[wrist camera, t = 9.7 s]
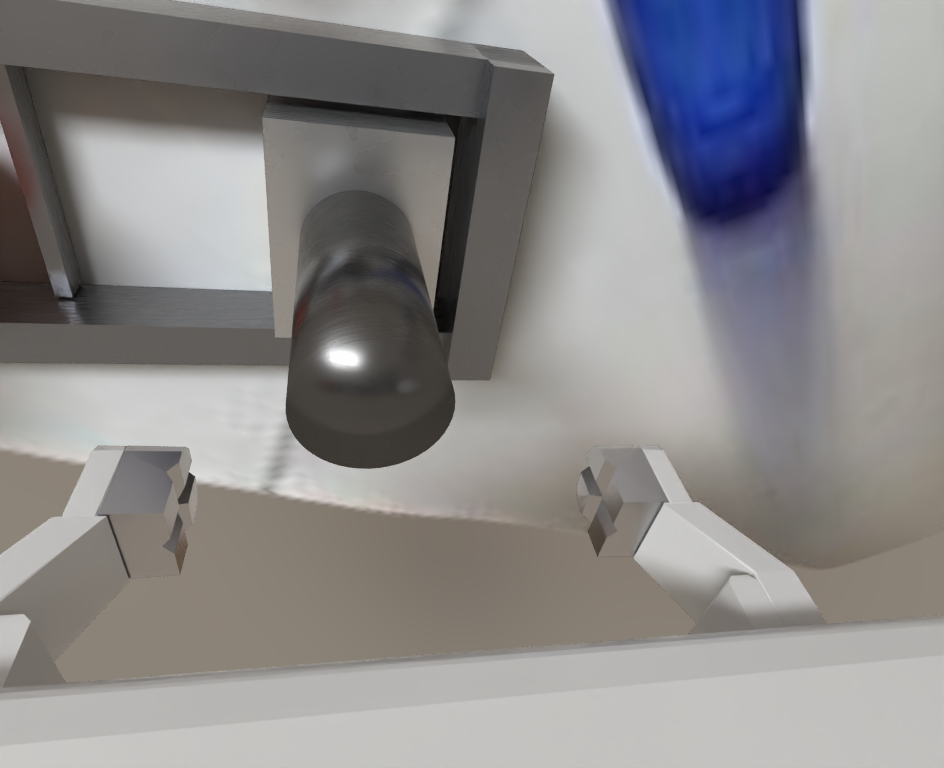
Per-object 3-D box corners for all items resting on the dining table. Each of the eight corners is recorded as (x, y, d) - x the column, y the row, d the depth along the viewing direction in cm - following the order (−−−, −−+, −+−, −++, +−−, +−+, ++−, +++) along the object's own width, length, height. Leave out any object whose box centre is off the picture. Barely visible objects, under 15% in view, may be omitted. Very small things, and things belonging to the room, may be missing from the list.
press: (522, 50, 22) (597, 106, 16) (472, 330, 29) (511, 442, 23) (-616, -114, 15) (-1279, -127, 9) (-302, 312, 22) (-540, 466, 16)
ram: (438, 106, 22) (525, 265, 12) (417, 291, 27) (469, 513, 17) (271, 86, 21) (220, 249, 11) (281, 286, 26) (252, 524, 16)
